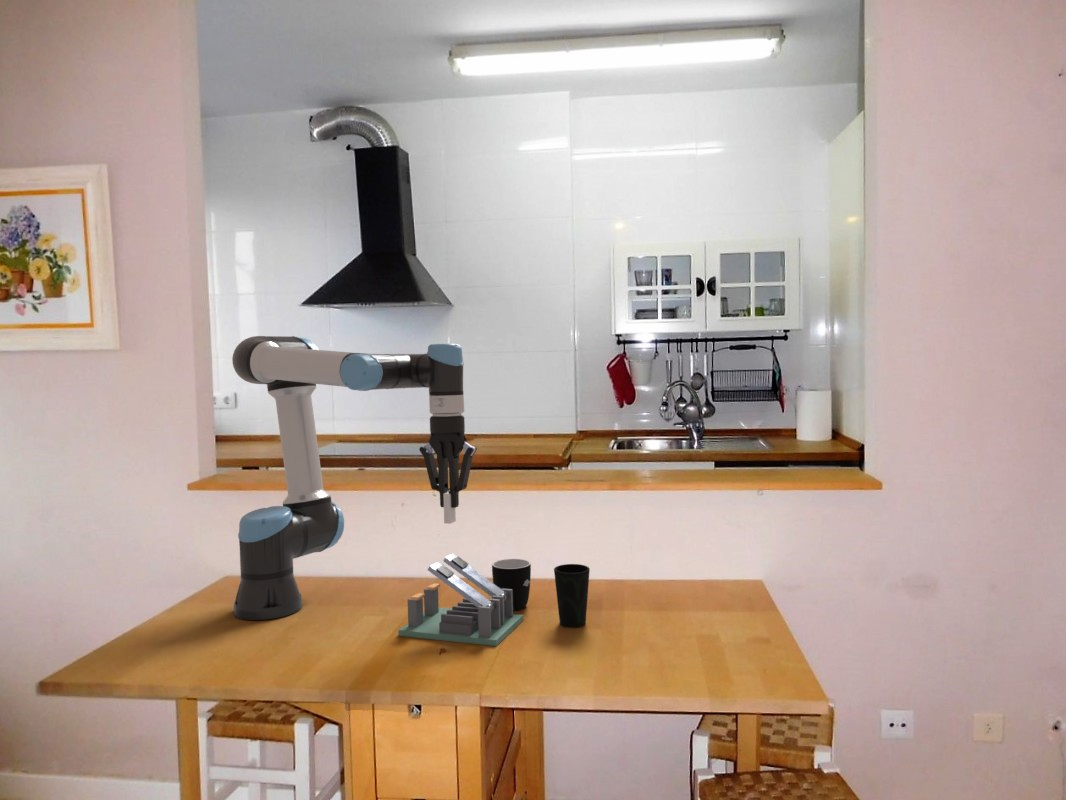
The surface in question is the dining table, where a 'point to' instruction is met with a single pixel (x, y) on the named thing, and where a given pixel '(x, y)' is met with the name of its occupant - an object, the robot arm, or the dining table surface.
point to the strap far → (474, 576)
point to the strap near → (460, 586)
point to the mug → (513, 579)
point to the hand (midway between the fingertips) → (449, 522)
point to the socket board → (460, 619)
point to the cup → (572, 594)
